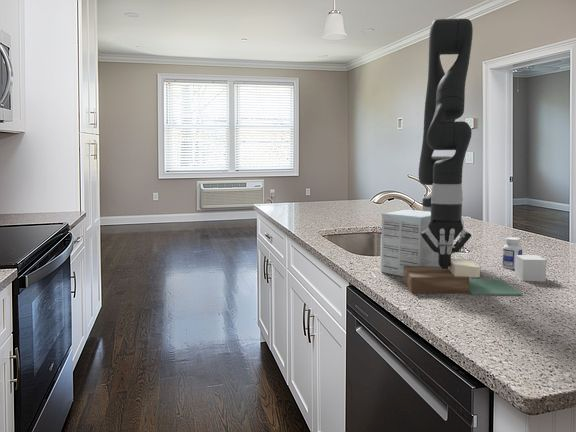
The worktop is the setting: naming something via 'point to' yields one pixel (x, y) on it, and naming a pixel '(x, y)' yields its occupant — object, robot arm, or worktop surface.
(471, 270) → the cream tile
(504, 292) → the green mat
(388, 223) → the supplement box
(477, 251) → the worktop surface
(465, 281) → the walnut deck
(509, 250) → the pill bottle
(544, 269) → the white cube
